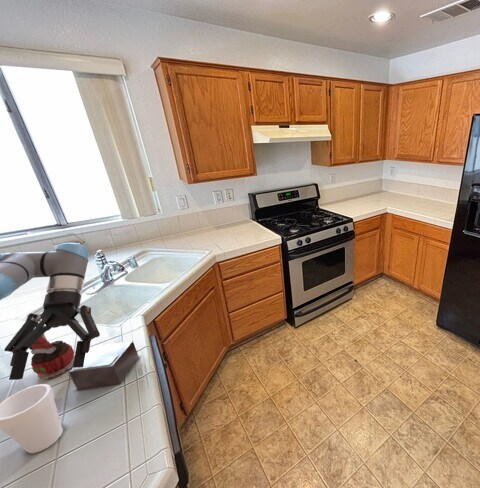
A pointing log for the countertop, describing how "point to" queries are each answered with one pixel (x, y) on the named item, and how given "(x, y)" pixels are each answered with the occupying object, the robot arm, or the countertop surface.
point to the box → (105, 365)
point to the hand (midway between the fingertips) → (47, 373)
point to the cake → (51, 357)
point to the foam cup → (31, 418)
